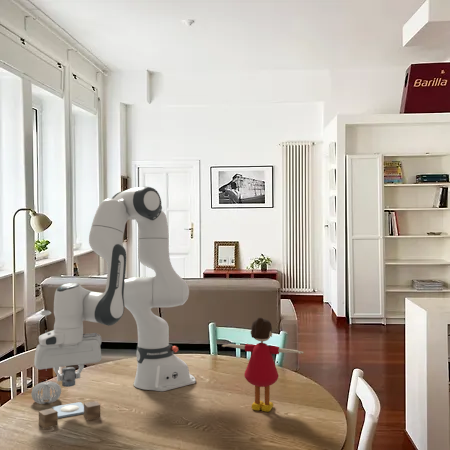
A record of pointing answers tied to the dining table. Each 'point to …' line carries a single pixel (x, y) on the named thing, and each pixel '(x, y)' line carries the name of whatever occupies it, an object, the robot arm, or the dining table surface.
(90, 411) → the walnut cube
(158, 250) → the robot arm
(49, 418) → the walnut cube
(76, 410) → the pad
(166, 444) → the dining table surface
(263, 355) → the toy
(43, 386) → the pendant light
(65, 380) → the metal cylinder
